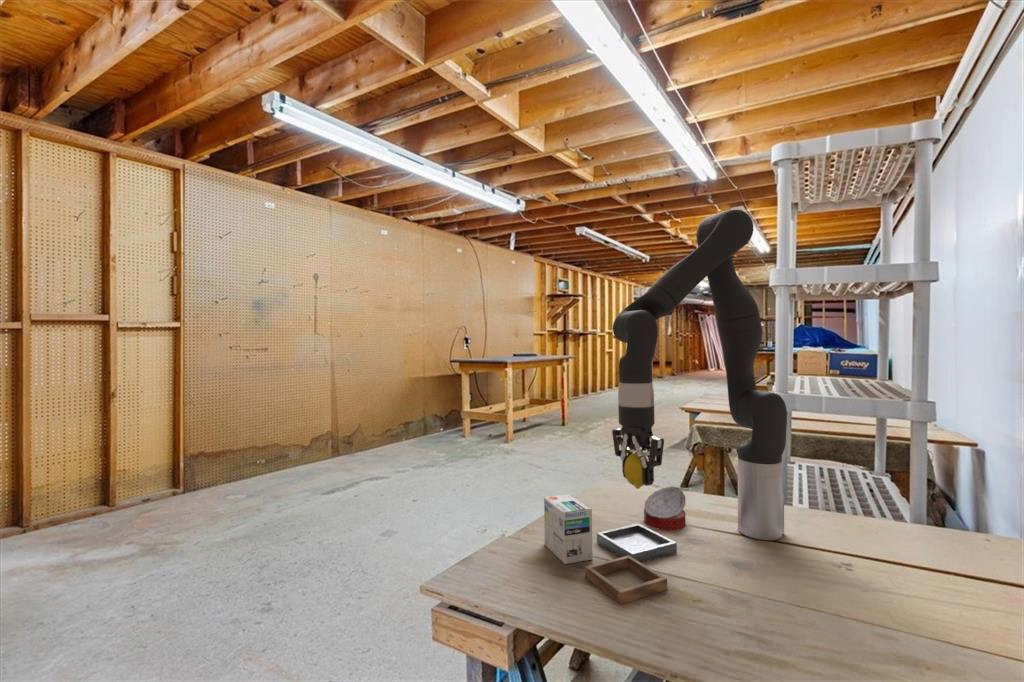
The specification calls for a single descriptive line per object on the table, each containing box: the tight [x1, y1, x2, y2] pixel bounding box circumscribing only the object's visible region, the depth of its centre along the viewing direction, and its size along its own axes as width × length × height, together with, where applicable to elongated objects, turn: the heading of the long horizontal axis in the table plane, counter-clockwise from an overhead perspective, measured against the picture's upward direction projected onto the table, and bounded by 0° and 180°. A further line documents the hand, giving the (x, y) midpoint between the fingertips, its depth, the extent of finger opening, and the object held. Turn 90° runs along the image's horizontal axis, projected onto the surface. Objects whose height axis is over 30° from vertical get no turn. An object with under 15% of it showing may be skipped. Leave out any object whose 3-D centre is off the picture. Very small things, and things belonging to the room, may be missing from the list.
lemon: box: [624, 451, 649, 489], centre depth 104 cm, size 6×6×8 cm
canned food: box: [643, 486, 687, 531], centre depth 120 cm, size 11×10×10 cm
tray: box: [596, 523, 678, 564], centre depth 106 cm, size 12×12×2 cm
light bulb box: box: [543, 493, 594, 565], centre depth 104 cm, size 11×7×11 cm, turn 20°
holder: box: [584, 555, 668, 605], centre depth 90 cm, size 11×11×2 cm
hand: (637, 480), depth 105 cm, fingers closed on lemon, 5 cm apart
